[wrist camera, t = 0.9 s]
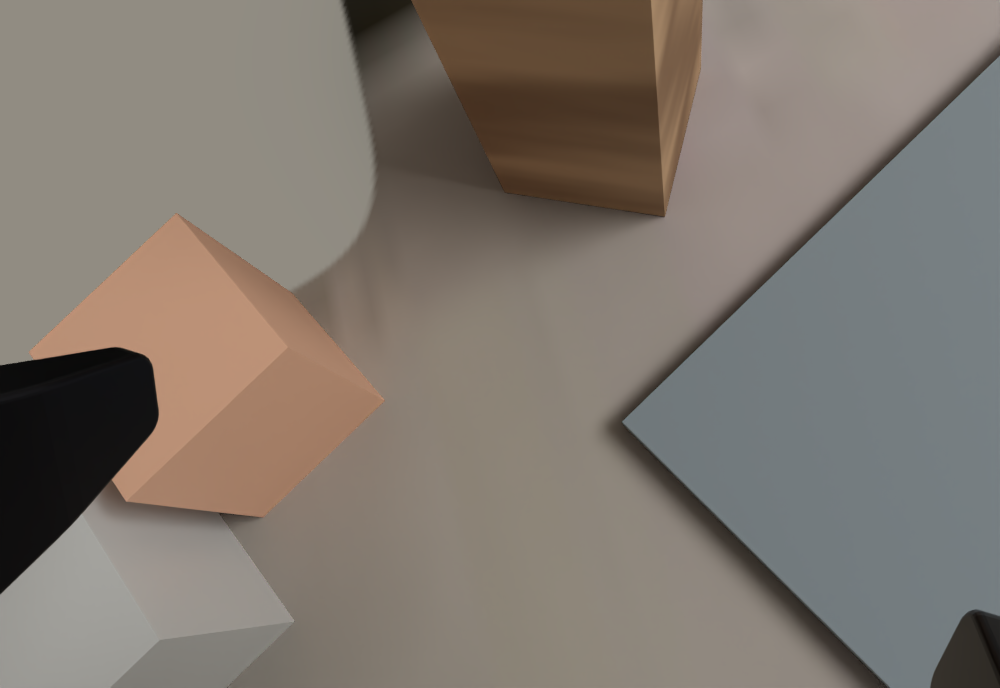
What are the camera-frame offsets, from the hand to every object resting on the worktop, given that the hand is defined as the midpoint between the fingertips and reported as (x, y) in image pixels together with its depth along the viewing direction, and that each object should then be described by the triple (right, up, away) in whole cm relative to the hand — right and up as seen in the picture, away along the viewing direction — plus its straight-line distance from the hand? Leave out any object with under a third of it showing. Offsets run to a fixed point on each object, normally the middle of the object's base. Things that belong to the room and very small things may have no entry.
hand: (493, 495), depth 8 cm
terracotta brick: (-7, 0, +16) cm, 17 cm away
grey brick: (-9, -6, +14) cm, 18 cm away
